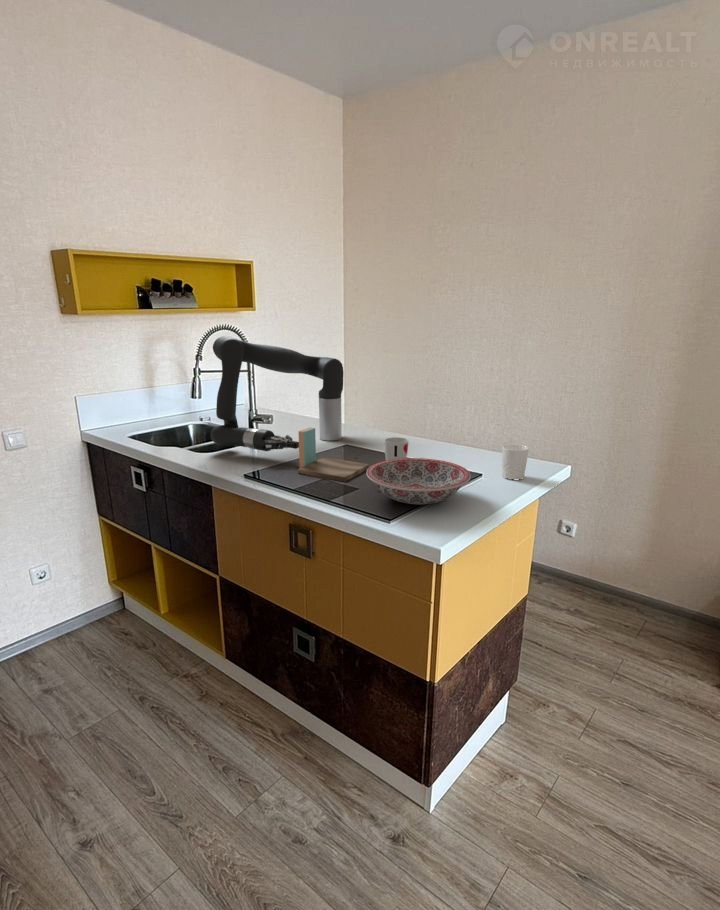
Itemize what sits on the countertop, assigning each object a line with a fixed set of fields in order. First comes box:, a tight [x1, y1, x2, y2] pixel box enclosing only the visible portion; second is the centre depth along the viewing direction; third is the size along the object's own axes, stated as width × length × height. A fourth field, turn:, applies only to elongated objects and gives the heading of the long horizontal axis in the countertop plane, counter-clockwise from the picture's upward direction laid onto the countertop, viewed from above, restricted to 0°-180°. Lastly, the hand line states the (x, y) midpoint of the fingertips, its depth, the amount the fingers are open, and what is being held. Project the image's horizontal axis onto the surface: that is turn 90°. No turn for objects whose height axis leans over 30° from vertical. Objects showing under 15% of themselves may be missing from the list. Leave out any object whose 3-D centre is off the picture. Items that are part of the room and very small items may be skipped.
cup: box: [383, 436, 409, 461], centre depth 176 cm, size 8×8×10 cm
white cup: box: [501, 443, 529, 480], centre depth 167 cm, size 8×8×10 cm
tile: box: [297, 427, 317, 468], centre depth 178 cm, size 6×2×13 cm, turn 151°
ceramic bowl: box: [366, 457, 472, 505], centre depth 148 cm, size 29×29×8 cm
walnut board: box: [297, 456, 370, 483], centre depth 175 cm, size 16×18×2 cm
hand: (297, 445), depth 180 cm, fingers closed
